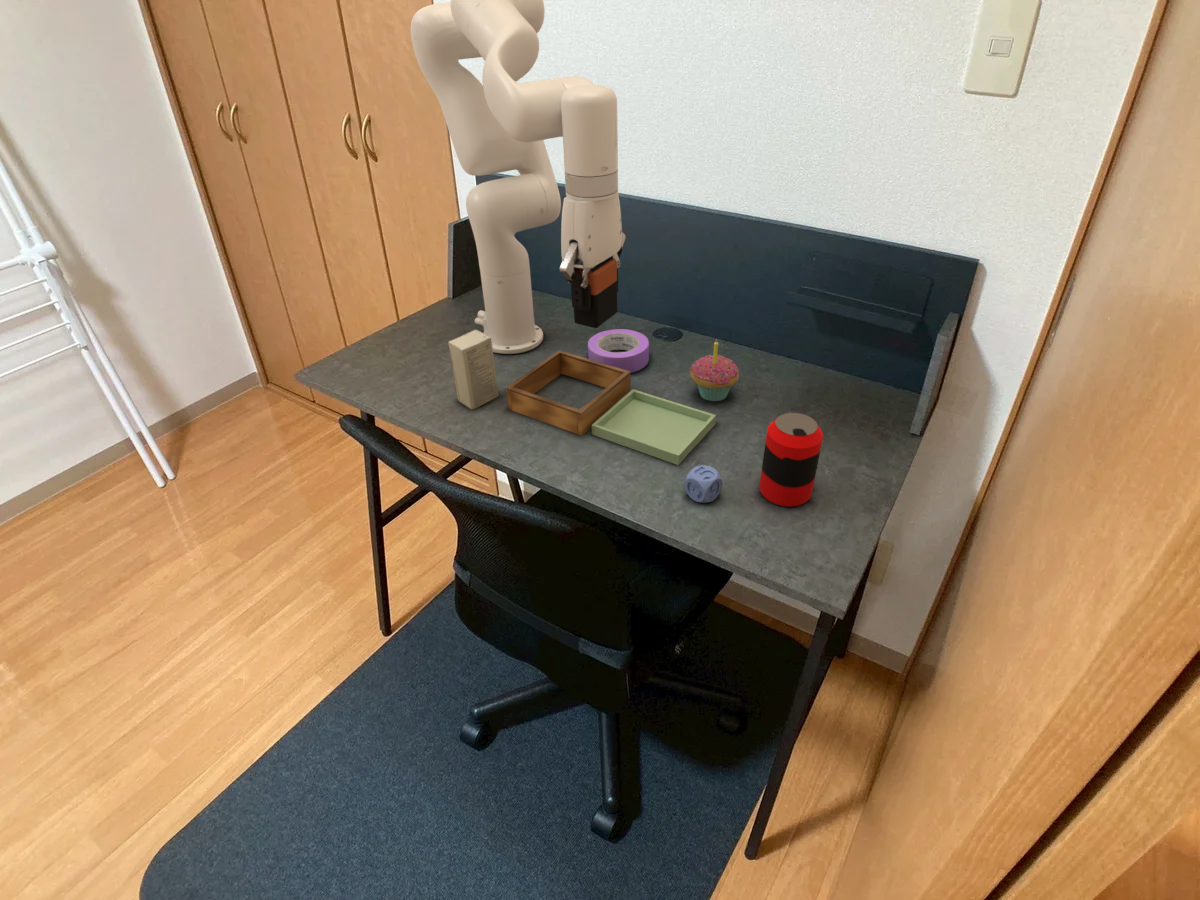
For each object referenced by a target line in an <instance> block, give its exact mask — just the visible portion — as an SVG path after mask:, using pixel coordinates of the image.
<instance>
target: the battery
mask: <svg viewBox="0 0 1200 900" xmlns="http://www.w3.org/2000/svg"><path fill="white" fill-rule="evenodd" d="M580 264H581V265H583V261H581V263H580ZM617 269H618V268H617V261H616V259H612V258H608V259H606V260H604V261H603V262H601V263H599V264H598V265H596V266H594V267H592V268H591V271H590V275H589V280H588V284H587V286H590V290H591V310H590V311H588V312H587V311H583V310H579V309H575V308H573V318H574V320H573V321H574V324H577V325H581V326H584V327H588V328H592V329H598V328H599V327H601V326H602V325H603V324H605V323H606V322H607V321H608V320H609V319H611V318H613V316H615V315H616V314H617V313H618V292H617ZM577 273H578V274H579V275H580V276H581V277H582V274H583V269H579V268H578V271H577Z"/></svg>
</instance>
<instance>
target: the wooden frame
mask: <svg viewBox="0 0 1200 900" xmlns="http://www.w3.org/2000/svg"><path fill="white" fill-rule="evenodd" d="M631 374H632V373H631V372H630V371H627V370H624V369H620V368H617V367H614V366H610V365H607V364H604V363H600V362H597V361H594V360H590V359H588V358H587V357H584V356H580V355H577V354H573V353H570V352H567V351H564V350H560V349H558V350H557V351H555V352H554V353H553V354H551V355H550V356H549V357H547V358H546V359H544V360H543V361H541V362H540V363H539V364H537V365H536V366H534V367H533V368H531V369H530V370H529V371H527V372H526V373H524V374H523V375H521V376H520V377H519V378H517V379H516V380H515V381H513V382H512V383H510V384H509V385H507V386H506V387H505V390H506V399H507V405H508V406H507V407H508V410H510V411H511V412H515V413H517V414H520V415H523V416H526V417H529V418H531V419H534V420H537V421H540V422H543V423H545V424H548V425H550V426H554V427H557V428H559V429H562V430H565V431H568V432H569V433H573V434H575V435H578V436H581V437H582V436H585V434H586V433H588V431H590V430H591V429H592V424H593V423H595V422H596V421H597V420H598V419H599V418H600V417H601V416H603V415H604V414H605V413H606V412H607V411H608V410H609V409H611V408H612V407H613V406H614V405H615V404H616V403H617V402H619V401H620V400H621V399H622V398H623V397H624V396H625V395H627V394H628V393H629V392H630V391H631V390H632V389H631V386H632V383H631V381H632V379H631V377H632V375H631ZM560 375H562V376H563V375H564V376H567V377H570V378H572V379H576V380H580V381H583V382H586V383H589V384H591V385H595V386H599V387H601V388H604V389H603V390H601V391H600V392H599V393H598V394H597V395H596V396H594V397H593V398H592V399H590V401H589V402H587V403H586V404H584V405H583V406H582V407H581V408H580V409H578V408H576V407H572V406H570V405H567V404H564V403H562V402H558V401H555V400H552V399H550V398H546V397H544V396H540V395H537V392H539V391H540V390H542V389H543V388H544V387H546V386H547V385H548V384H550V383H551V382H552V381H553V380H555V379H556V378H558V377H559V376H560Z"/></svg>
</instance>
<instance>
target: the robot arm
mask: <svg viewBox="0 0 1200 900" xmlns="http://www.w3.org/2000/svg"><path fill="white" fill-rule="evenodd" d="M544 19H545V3H544V0H450V1H444V2H438V3H433V4H428V5H427V6H424V7H421V8H420V9H418V10H417V11H416V12H415V13H414V14H413V16H412V18H411V22H410V39H411V46H412V50H413V53H414V57H415V59H416V62H417V64H418V67H419V69H420V71H421V73H422V75H423V77H424V79H425V80H426V82H427V83H428V85H429V87H430V88H431V90H432V92H433V93H434V95H435V97H436V99H437V101H438V103H439V106H440V108H441V112H442V115H443V118H444V121H445V124H446V127H447V130H448V134H449V136H450V139H451V142H452V145H453V148H454V151H455V155H456V157H457V159H458V162H459V164H460V166H461V169H462V170H463V171H464V172H465V173H466V174H468V175H470V176H473V177H481V176H487V175H488V176H489V175H493V174H495V175H496V174H500V173H505V172H510V171H515V170H516V171H517V172H518V173H519V174H518V175H514V176H507V177H501V178H496V179H491V180H487V181H484V182H481V183H478V184H476V185H475V186H474V187H472V188H471V190H469V192H468V193H467V195H466V199H465V200H466V201H465V208H466V213H467V217H468V221H469V224H470V227H471V230H472V234H473V238H474V241H475V246H476V252H477V259H478V260H477V261H478V266H479V267H478V268H479V273H480V281H481V282H480V283H481V288H482V297H483V304H484V310H481V309H480V310H478V312H477V317H475V319H474V324H475V325H477V326H482V327H483V332H482V333H484V334H486V335H488V336H490V337H491V341H492V349H493V353H495V354H501V355H514V354H515V355H516V354H521V353H526V352H529V351H532V350H534V349H536V348H537V347H539V345H541V344H542V342H543V341H544V332H543V329H542V328H541V327H539V326H538V325H537V324H535V314H534V313H535V312H534V300H533V289H532V277H531V265H530V258H529V253H528V251H527V249H526V247H525V246H524V245H523V244H522V243H521V242H520V241H519V240H518V239H517V238H516V237H515V235H516V234H517V233H519V232H523V231H526V230H530V229H534V228H539V227H542V226H546V225H550V224H552V223H554V222H555V221H556V220H557V219H558V218H559V216H560V215H561V223H560V225H561V228H560V231H561V232H560V249H561V251H560V253H561V263H560V266H559V272H560V273H561V274H562V275H563V277H564V279H565V280H566V281H567V284H568V285H570V293H571V294H570V295H571V307H572V308H573V309H574V308H575V309H579V310H583V311H587V312H588V311H590V310H591V290H590V286H587V284H588V280H589V275H590V271H591V268H592V267H594V266H596V265H598V264H599V263H601V262H603V261H604V260H606V259H608V258H612V259H616V261H617V293H618V292H619V268H620V266H621V260H620V259H621V255H622V253H623V246H624V243H625V241H626V234H625V233H624V232H623V227H622V212H621V203H620V196H619V148H618V147H619V145H618V142H619V141H618V139H619V137H618V135H619V133H618V98H617V94H616V93H615V91H614V89H612V88H611V87H608V86H605V85H598V84H594V83H593V82H592V81H590V79H588V78H586V77H583V76H578V75H577V76H576V75H575V76H566V77H558V78H557V77H556V78H547V79H540V80H534V81H533V80H532V81H525V82H518V81H519V80H520V79H523V78H524V76H525V75H527V74H528V73H529V72H530V71H531V70H532V68H533V67H534V65H535V63H536V62H537V60H538V57H539V52H540V40H539V39H540V38H539V36H538V33H539V32H540V30H541V29H542V27H543V24H544V21H545V20H544ZM477 58H482V59H483V61H484V62H483V63H484V64H483V67H482V80H481V81H482V83H481V81H480V80H479V79H478V78H477V77H476V76H475V75H474V74H473V73H472V72H471V71H470V70H468V68H466V67H465V66H463V65H462V64H461V63H460V62H459V60H466V59H467V60H468V59H477ZM555 138H562V145H563V146H562V147H563V160H564V161H563V166H564V183H565V186H564V187H565V197H564V198H563V202H562V200H561V199H562V198H561V195H560V194H561V193H560V191H559V187H558V183H557V179H556V177H555V173H554V170H553V167H552V164H551V163H552V162H551V160H550V157H549V154H548V150H547V147H546V144H545V141H544V140H550V139H555ZM561 210H562V211H561ZM580 261H581V262H583V265H581V263H580ZM578 268H579V269H583V274H582V277H581V276H580V275H579V274H578V273H577V271H578Z"/></svg>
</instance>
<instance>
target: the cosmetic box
mask: <svg viewBox="0 0 1200 900" xmlns="http://www.w3.org/2000/svg"><path fill="white" fill-rule="evenodd" d="M447 342H448V348H449V349H448V350H449V355H450V360H451V366H452V373H453V376H454V377H453V378H454V383H455V389H456V395H457V400H458V402H459V403H461V404H462V405H464V406H465V407H467V408H469V409H470V410H474V409H477V408H479V407H480V406H483V405H485V404H487V403H488V402H491V401H493V400H495V399H497V398H498V397H499V395H500V394H499V387H498V380H497V372H496V364H495V358H494V352H493V349H492V341H491V337H490V336H488V335H486V334H484V333H483V332H482V331H480V330H478V329H473V330H471V331H469V332H466V333H464V334H462V335H460V336H458V337H456V338H454V339H451V340H449V341H447Z"/></svg>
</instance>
